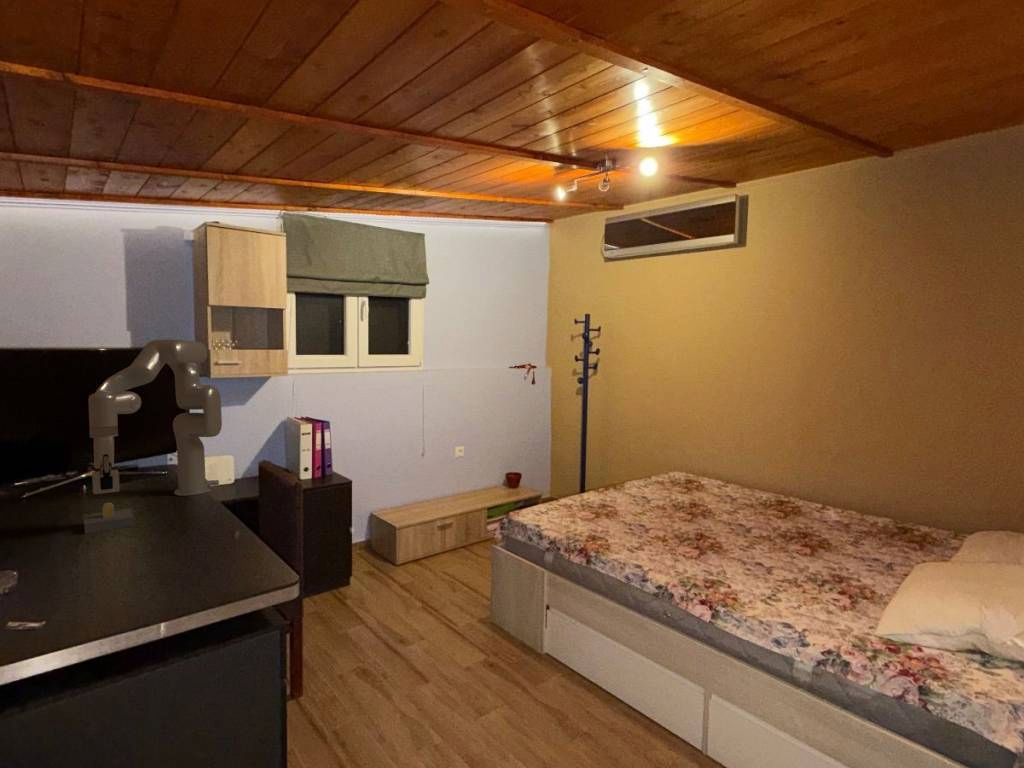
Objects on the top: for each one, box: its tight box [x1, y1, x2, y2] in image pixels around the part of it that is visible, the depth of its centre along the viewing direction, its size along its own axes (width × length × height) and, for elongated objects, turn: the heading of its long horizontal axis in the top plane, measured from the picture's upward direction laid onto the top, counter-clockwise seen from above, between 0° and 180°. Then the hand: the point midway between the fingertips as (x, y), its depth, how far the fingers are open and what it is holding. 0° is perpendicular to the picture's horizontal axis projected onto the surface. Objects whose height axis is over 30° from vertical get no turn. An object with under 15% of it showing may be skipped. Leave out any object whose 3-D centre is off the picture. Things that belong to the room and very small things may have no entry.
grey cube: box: [91, 469, 120, 495], centre depth 195 cm, size 7×7×6 cm
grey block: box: [82, 502, 135, 534], centre depth 196 cm, size 13×13×7 cm
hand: (106, 486), depth 195 cm, fingers closed on grey cube, 6 cm apart
